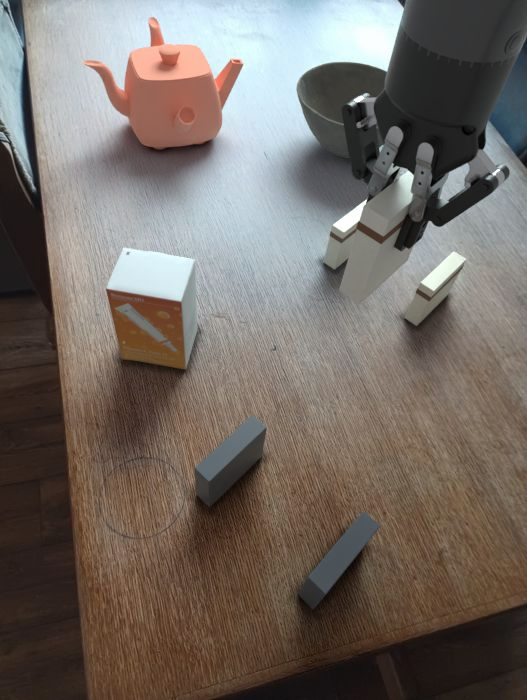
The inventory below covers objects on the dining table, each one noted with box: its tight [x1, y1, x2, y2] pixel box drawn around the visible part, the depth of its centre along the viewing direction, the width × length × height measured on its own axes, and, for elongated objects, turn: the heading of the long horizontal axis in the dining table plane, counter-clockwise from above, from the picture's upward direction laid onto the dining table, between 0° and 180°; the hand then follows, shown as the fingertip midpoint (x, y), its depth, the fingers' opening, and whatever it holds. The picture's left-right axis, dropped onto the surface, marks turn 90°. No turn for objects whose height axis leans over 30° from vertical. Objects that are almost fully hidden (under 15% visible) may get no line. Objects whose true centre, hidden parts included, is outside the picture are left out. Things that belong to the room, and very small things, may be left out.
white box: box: [338, 170, 415, 305], centre depth 47 cm, size 2×8×10 cm, turn 138°
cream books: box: [323, 198, 467, 327], centre depth 74 cm, size 16×8×7 cm, turn 47°
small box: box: [105, 247, 198, 370], centre depth 62 cm, size 8×6×13 cm
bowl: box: [296, 61, 387, 159], centre depth 90 cm, size 19×19×10 cm
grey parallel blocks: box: [194, 414, 381, 610], centre depth 53 cm, size 16×8×7 cm, turn 47°
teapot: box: [82, 16, 244, 150], centre depth 87 cm, size 18×18×14 cm
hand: (388, 234), depth 47 cm, fingers closed on white box, 2 cm apart
